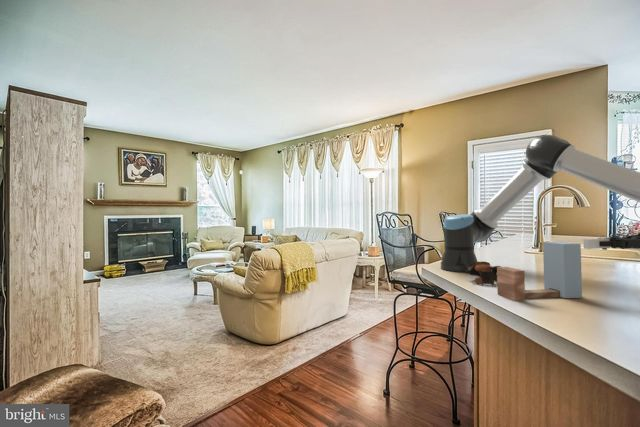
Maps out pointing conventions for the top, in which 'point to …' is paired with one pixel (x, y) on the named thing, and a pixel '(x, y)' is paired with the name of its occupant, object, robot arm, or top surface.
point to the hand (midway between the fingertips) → (585, 243)
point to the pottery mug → (483, 272)
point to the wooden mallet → (518, 286)
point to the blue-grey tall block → (563, 268)
